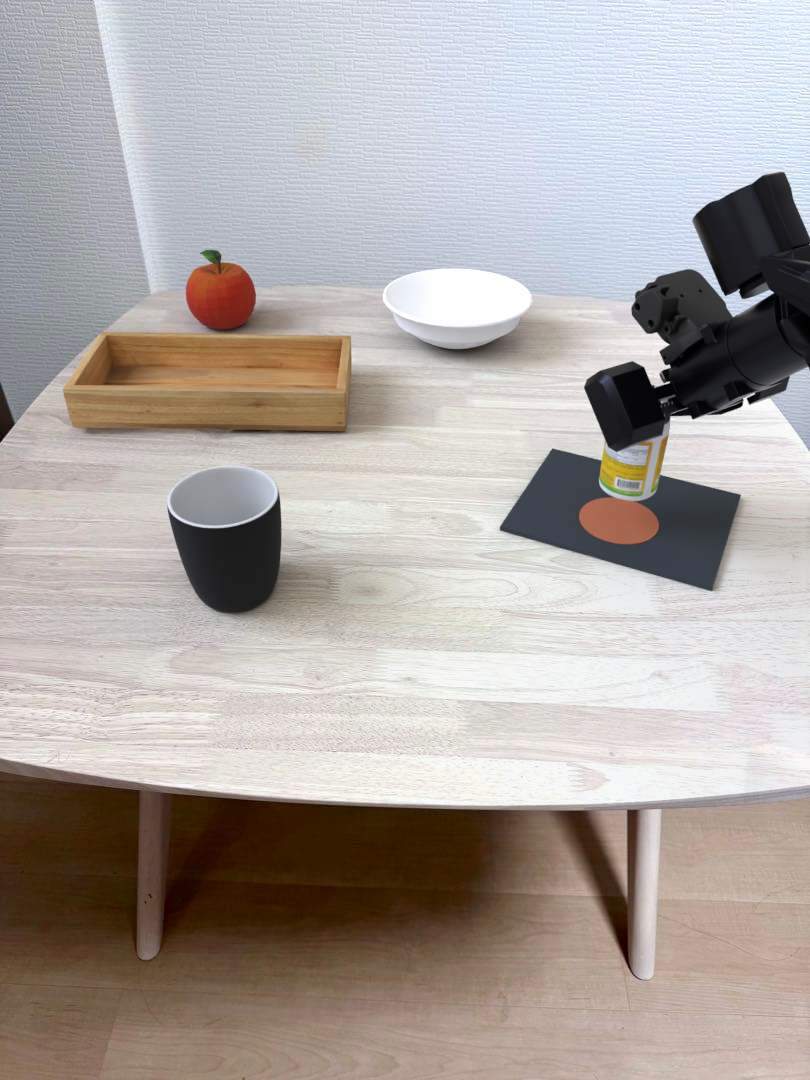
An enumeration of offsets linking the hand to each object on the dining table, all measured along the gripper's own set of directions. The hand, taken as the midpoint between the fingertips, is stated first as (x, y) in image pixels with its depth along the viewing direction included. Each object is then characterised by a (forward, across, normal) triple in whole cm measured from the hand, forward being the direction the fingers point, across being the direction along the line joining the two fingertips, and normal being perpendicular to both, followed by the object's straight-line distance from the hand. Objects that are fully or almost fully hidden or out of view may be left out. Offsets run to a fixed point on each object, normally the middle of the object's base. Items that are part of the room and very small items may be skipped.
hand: (628, 418), depth 76 cm
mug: (+15, +36, +1) cm, 39 cm away
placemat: (+8, -2, +8) cm, 11 cm away
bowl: (+38, -10, -22) cm, 45 cm away
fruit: (+52, +15, -37) cm, 66 cm away
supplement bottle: (+4, 0, +6) cm, 7 cm away
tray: (+37, +24, -22) cm, 49 cm away
